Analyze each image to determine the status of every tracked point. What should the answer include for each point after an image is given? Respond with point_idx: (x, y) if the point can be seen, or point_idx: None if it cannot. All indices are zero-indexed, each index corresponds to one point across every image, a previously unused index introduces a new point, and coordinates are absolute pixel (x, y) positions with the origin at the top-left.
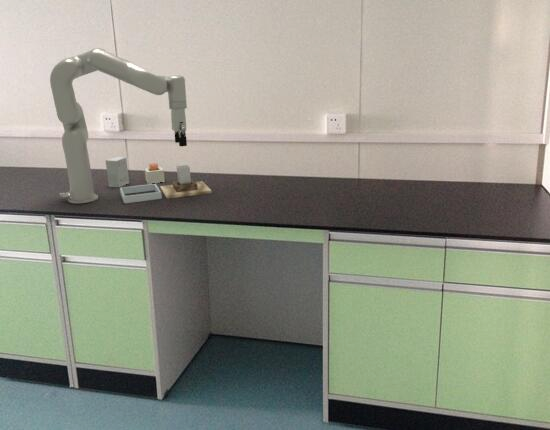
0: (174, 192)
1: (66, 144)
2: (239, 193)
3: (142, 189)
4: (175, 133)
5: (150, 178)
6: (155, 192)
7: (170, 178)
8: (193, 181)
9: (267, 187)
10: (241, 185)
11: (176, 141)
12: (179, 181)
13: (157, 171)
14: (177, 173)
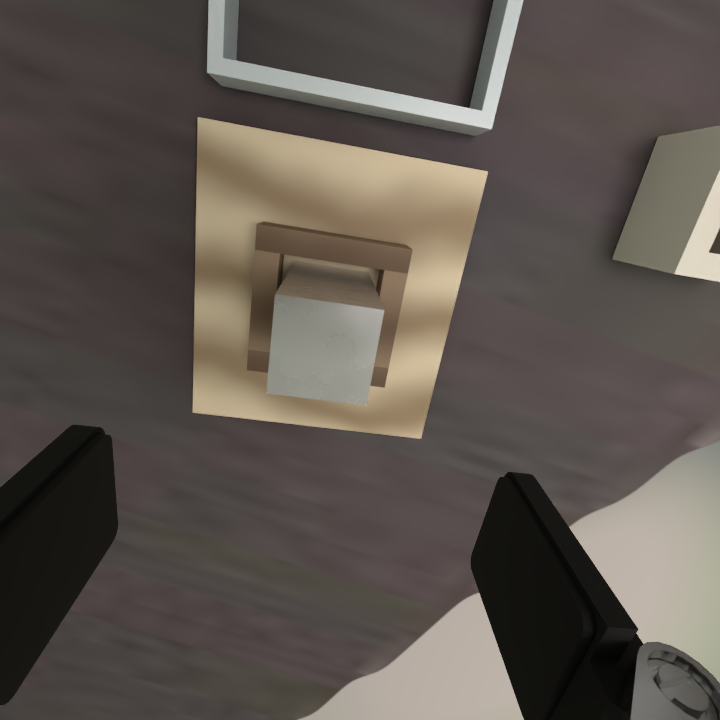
0: (263, 204)
1: None
2: (121, 507)
3: (497, 7)
4: (636, 654)
5: (680, 156)
6: (218, 21)
7: (669, 322)
8: None
9: (167, 624)
10: (263, 559)
11: (502, 497)
12: (302, 272)
13: (693, 221)
14: (362, 292)
